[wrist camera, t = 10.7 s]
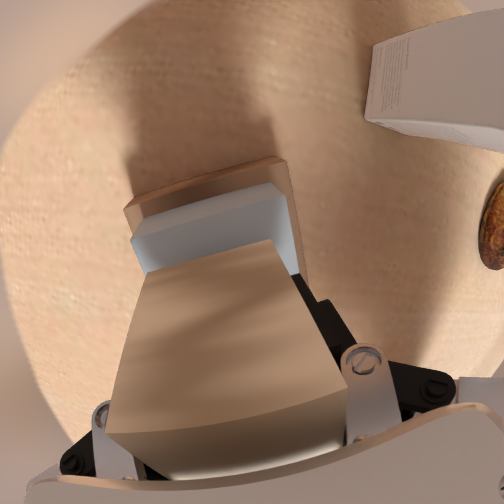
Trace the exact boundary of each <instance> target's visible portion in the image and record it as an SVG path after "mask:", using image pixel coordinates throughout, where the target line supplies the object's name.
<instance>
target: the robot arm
mask: <svg viewBox="0 0 504 504" xmlns="http://www.w3.org/2000/svg"><path fill="white" fill-rule="evenodd" d="M290 276H291V278H292V280H293V282H294V283H295V285H296V287H297V289H298V291H299V293H300V295H301V297H302V298H303V300H304V302H305V304H306V306H307V308H308V310H309V312H310V314H311V316H312V317H313V319H314V321H315V323H316V325H317V327H318V329H319V331H320V333H321V335H322V337H323V339H324V341H325V343H326V344H327V346H328V348H329V350H330V352H331V354H332V356H333V358H334V360H335V362H336V364H337V366H338V368H339V370H340V372H341V374H342V376H343V378H344V380H345V382H346V384H347V386H348V398H347V410H346V421H345V430H344V439H343V447H342V448H339V449H336V450H333V451H330V452H328V453H324V454H321V455H318V456H315V457H312V458H308V459H305V460H301V461H298V462H294V463H290V464H286V465H282V466H278V467H273V468H269V469H264V470H259V471H254V472H249V473H243V474H237V475H230V476H222V477H214V478H204V479H192V480H172V481H171V480H169V479H168V478H166V477H164V476H163V475H161V474H160V473H158V472H156V471H155V470H153V469H152V468H150V467H149V466H147V465H146V464H144V463H143V462H142V461H140V460H139V459H137V458H136V457H135V456H133V455H132V454H130V453H129V452H128V451H126V450H125V449H124V448H123V447H121V446H120V445H119V444H117V443H116V442H115V441H114V440H112V439H111V438H110V437H109V436H108V435H106V434H105V428H106V423H107V417H108V412H109V407H110V403H111V400H108V401H105V402H103V403H101V404H100V405H99V406H98V407H97V408H96V409H95V410H94V412H93V415H92V430H91V431H90V432H89V433H87V434H86V435H85V436H84V437H83V438H82V439H80V440H79V441H78V442H77V443H76V444H74V445H73V446H72V447H71V448H70V449H69V450H67V451H66V452H65V453H64V454H63V456H62V458H61V460H60V465H59V464H55V465H54V466H52V467H51V468H49V469H47V470H46V471H44V472H43V473H41V474H39V475H38V476H36V477H35V478H33V479H31V480H30V481H29V483H28V485H27V490H26V491H27V493H26V496H25V500H24V504H504V378H478V377H459V379H458V380H454V379H452V377H451V376H449V375H448V374H447V373H444V372H441V371H437V370H431V369H426V368H421V367H416V366H411V365H406V364H402V363H397V362H392V361H388V360H387V357H386V354H385V352H384V351H383V350H382V349H381V348H380V347H378V346H376V345H374V344H370V343H359V344H357V342H356V341H355V339H354V337H353V336H352V334H351V333H350V331H349V329H348V328H347V326H346V325H345V323H344V322H343V320H342V318H341V317H340V315H339V314H338V312H337V311H336V309H335V308H334V306H333V304H332V303H331V302H330V300H328V299H326V300H323V301H320V302H317V301H316V299H315V298H314V296H313V294H312V292H311V291H310V289H309V287H308V286H307V284H306V282H305V281H304V279H303V277H302V276H301V274H300V273H297V274H294V275H290Z"/></svg>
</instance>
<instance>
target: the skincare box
mask: <svg viewBox="0 0 504 504" xmlns="http://www.w3.org/2000/svg"><path fill="white" fill-rule="evenodd" d="M364 119H365V120H367V121H370V122H372V123H375V124H378V125H381V126H383V127H386V128H389V129H391V130H394V131H397V132H399V133H402V134H404V135H407V136H418V137H425V138H432V139H438V140H444V141H449V142H454V143H460V144H465V145H470V146H474V147H479V148H483V149H487V150H491V151H495V152H499V153H503V154H504V8H502V9H495V10H490V11H484V12H478V13H474V14H469V15H465V16H460V17H456V18H452V19H449V20H445V21H441V22H438V23H434V24H431V25H428V26H425V27H421V28H418V29H415V30H412V31H409V32H407V33H404V34H401V35H398V36H396V37H393V38H390V39H388V40H385V41H383V42H380V43H378V44H375V45H374V46H373V54H372V64H371V72H370V80H369V88H368V95H367V102H366V109H365V115H364Z"/></svg>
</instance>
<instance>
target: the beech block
mask: <svg viewBox="0 0 504 504" xmlns="http://www.w3.org/2000/svg"><path fill="white" fill-rule="evenodd" d="M347 398H348V386H347V384H346V382H345V380H344V378H343V376H342V374H341V372H340V370H339V368H338V366H337V364H336V362H335V360H334V358H333V356H332V354H331V352H330V350H329V348H328V346H327V344H326V343H325V341H324V339H323V337H322V335H321V333H320V331H319V329H318V327H317V325H316V323H315V321H314V319H313V317H312V316H311V314H310V312H309V310H308V308H307V306H306V304H305V302H304V300H303V298H302V297H301V295H300V293H299V291H298V289H297V287H296V285H295V283H294V282H293V280H292V278H291V276H290V274H289V272H288V270H287V269H286V267H285V265H284V263H283V261H282V259H281V257H280V256H279V254H278V252H277V250H276V248H275V246H274V245H273V243H272V241H271V239H268V240H264V241H260V242H257V243H253V244H249V245H246V246H242V247H238V248H234V249H231V250H227V251H223V252H220V253H216V254H212V255H209V256H205V257H202V258H198V259H194V260H191V261H187V262H183V263H180V264H176V265H173V266H169V267H165V268H162V269H158V270H155V271H151V272H147V274H146V277H145V280H144V283H143V286H142V289H141V292H140V295H139V298H138V301H137V305H136V308H135V311H134V314H133V317H132V321H131V324H130V327H129V331H128V334H127V338H126V341H125V345H124V349H123V352H122V356H121V360H120V364H119V368H118V372H117V376H116V380H115V385H114V389H113V393H112V398H111V403H110V407H109V412H108V417H107V423H106V428H105V434H106V435H108V436H109V437H110V438H111V439H112V440H114V441H115V442H116V443H117V444H119V445H120V446H121V447H123V448H124V449H125V450H126V451H128V452H129V453H130V454H132V455H133V456H135V457H136V458H137V459H139V460H140V461H142V462H143V463H144V464H146V465H147V466H149V467H150V468H152V469H153V470H155V471H156V472H158V473H160V474H161V475H163V476H164V477H166V478H168V479H169V480H171V481H172V480H192V479H204V478H214V477H222V476H230V475H237V474H243V473H249V472H254V471H259V470H264V469H269V468H273V467H278V466H282V465H286V464H290V463H294V462H298V461H301V460H305V459H308V458H312V457H315V456H318V455H321V454H324V453H328V452H330V451H333V450H336V449H339V448H342V447H343V439H344V430H345V421H346V410H347Z"/></svg>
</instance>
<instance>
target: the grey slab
mask: <svg viewBox="0 0 504 504" xmlns="http://www.w3.org/2000/svg"><path fill="white" fill-rule="evenodd" d="M268 239H271V241H272V243H273V245H274V246H275V248H276V250H277V252H278V254H279V256H280V257H281V259H282V261H283V263H284V265H285V267H286V269H287V270H288V272H289V274H290V275H294V274H297V273H299V268H298V262H297V256H296V250H295V245H294V239H293V234H292V228H291V223H290V217H289V212H288V207H287V202H286V197H285V195H284V194H283V193H282V192H281V191H280V190H279V189H278V188H277V187H275V186H274V185H273V184H272V183H271V182H268V183H264V184H260V185H256V186H252V187H248V188H244V189H241V190H237V191H233V192H229V193H226V194H222V195H218V196H215V197H211V198H208V199H204V200H201V201H198V202H194V203H191V204H187V205H184V206H181V207H178V208H174V209H171V210H168V211H165V212H162V213H158V214H155V215H152V216H149V217H146V218H143V220H142V222H141V223H140V225H139V226H138V228H137V229H136V231H135V233H134V234H133V236H132V238H131V239H130V242H131V244H132V247H133V249H134V251H135V254H136V256H137V258H138V261H139V263H140V265H141V267H142V269H143V272H144V274H145V276H146V274H147V272H151V271H155V270H158V269H162V268H165V267H169V266H173V265H176V264H180V263H183V262H187V261H191V260H194V259H198V258H202V257H205V256H209V255H212V254H216V253H220V252H223V251H227V250H231V249H234V248H238V247H242V246H246V245H249V244H253V243H257V242H260V241H264V240H268Z"/></svg>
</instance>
